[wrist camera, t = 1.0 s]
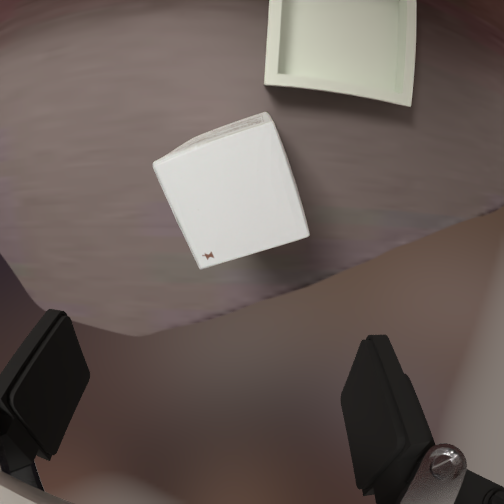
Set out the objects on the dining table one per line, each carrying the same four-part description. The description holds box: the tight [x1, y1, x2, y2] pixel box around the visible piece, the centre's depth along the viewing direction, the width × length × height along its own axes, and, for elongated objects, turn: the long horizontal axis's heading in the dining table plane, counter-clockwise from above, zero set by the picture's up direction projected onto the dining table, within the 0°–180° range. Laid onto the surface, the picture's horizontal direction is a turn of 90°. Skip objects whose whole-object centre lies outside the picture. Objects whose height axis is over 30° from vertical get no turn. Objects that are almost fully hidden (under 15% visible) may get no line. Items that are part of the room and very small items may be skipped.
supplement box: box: [153, 112, 310, 270], centre depth 23 cm, size 7×7×13 cm
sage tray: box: [264, 0, 416, 107], centre depth 21 cm, size 13×13×2 cm
